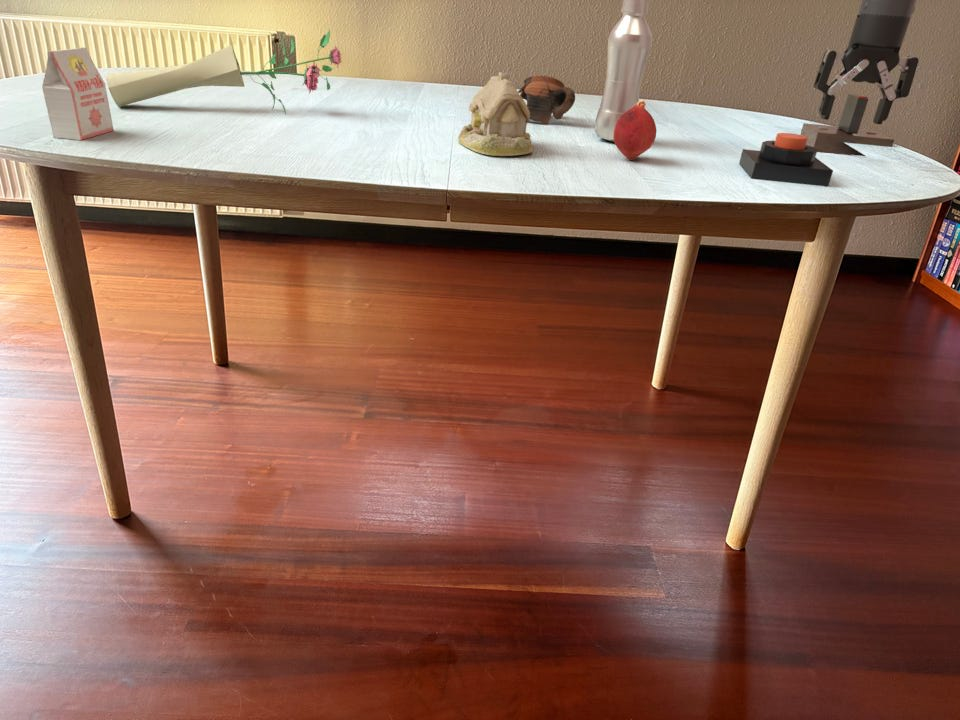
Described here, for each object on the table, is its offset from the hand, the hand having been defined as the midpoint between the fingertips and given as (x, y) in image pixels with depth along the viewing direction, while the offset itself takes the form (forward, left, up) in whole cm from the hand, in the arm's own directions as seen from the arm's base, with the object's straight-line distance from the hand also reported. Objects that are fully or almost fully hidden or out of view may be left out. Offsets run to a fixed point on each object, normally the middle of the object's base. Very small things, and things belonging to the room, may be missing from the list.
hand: (850, 121), depth 114 cm
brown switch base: (0, 0, -5) cm, 5 cm away
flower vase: (+100, +19, -5) cm, 102 cm away
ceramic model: (+56, +26, -5) cm, 62 cm away
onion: (+37, +26, -5) cm, 45 cm away
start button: (+16, +26, -1) cm, 31 cm away
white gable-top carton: (+108, +44, -5) cm, 117 cm away
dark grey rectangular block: (0, 0, -2) cm, 2 cm away
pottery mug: (+51, 0, -5) cm, 51 cm away
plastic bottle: (+39, +13, -5) cm, 41 cm away
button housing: (+16, +26, -5) cm, 31 cm away
